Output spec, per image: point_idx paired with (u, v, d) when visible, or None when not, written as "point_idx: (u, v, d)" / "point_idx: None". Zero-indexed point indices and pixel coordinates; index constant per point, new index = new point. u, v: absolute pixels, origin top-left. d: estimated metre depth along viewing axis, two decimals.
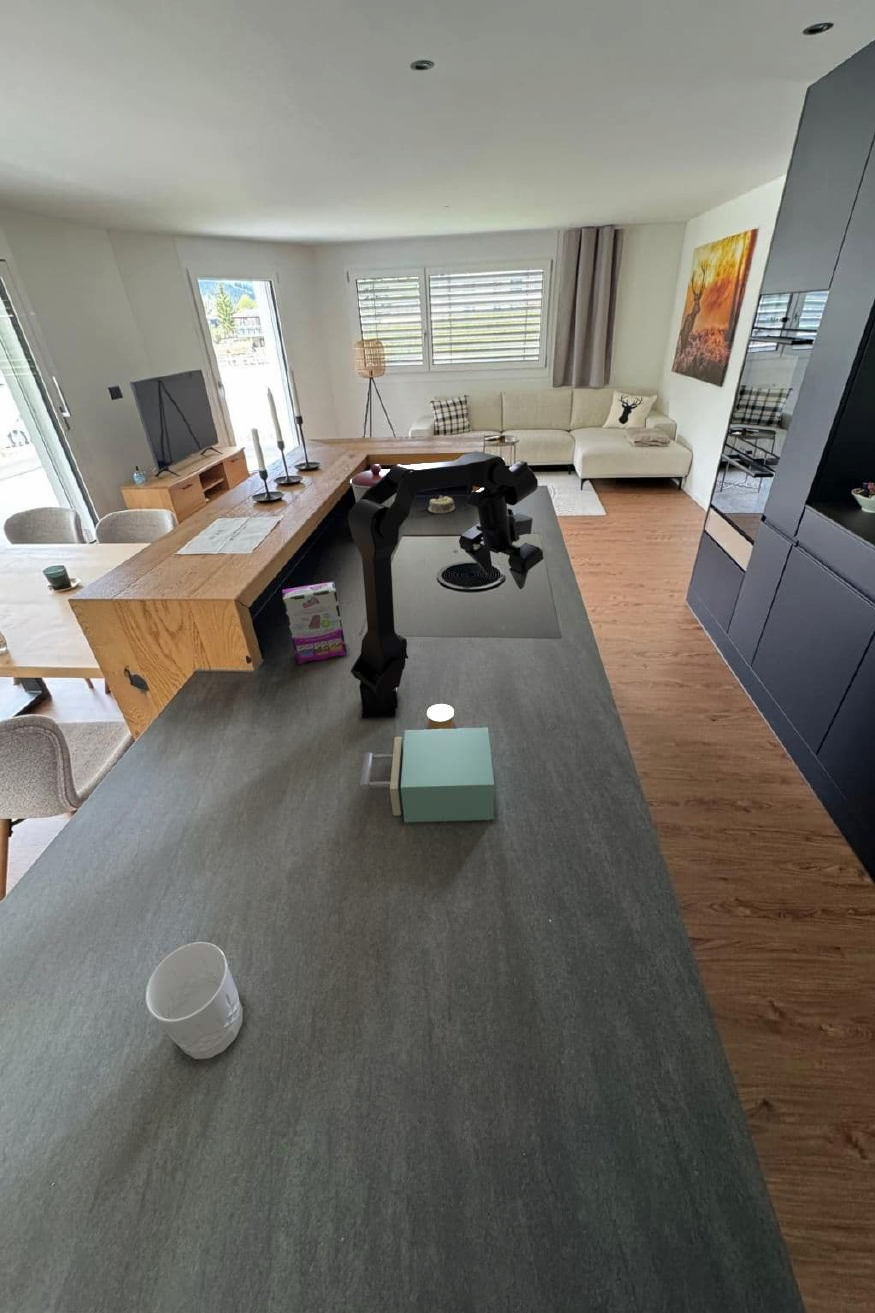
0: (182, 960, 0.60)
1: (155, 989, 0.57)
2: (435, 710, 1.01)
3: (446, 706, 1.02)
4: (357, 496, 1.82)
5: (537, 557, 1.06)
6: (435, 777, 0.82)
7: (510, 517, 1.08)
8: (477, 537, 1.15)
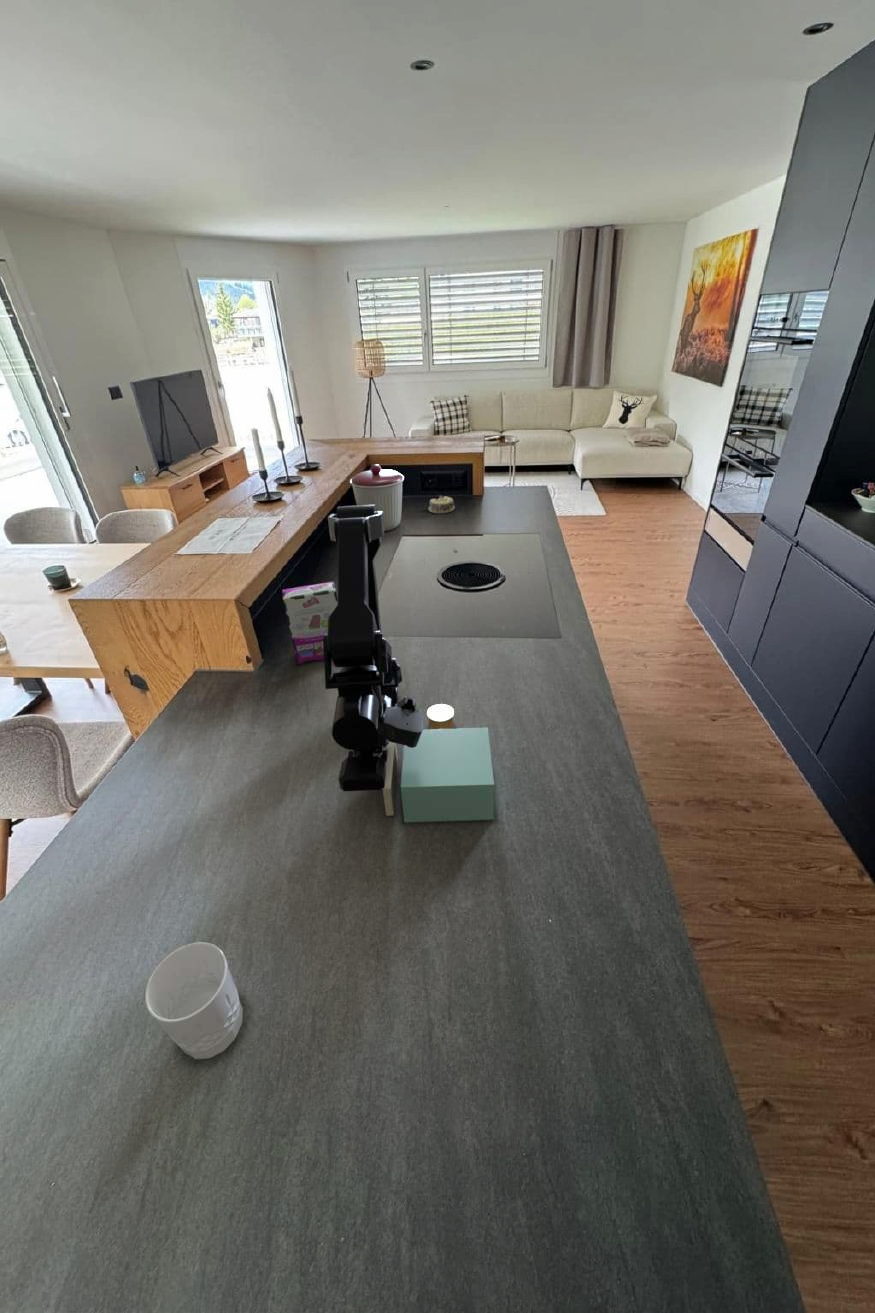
0: (182, 960, 0.60)
1: (155, 989, 0.57)
2: (435, 710, 1.01)
3: (446, 706, 1.02)
4: (357, 496, 1.82)
5: (367, 783, 0.76)
6: (435, 777, 0.82)
7: (378, 715, 0.79)
8: None
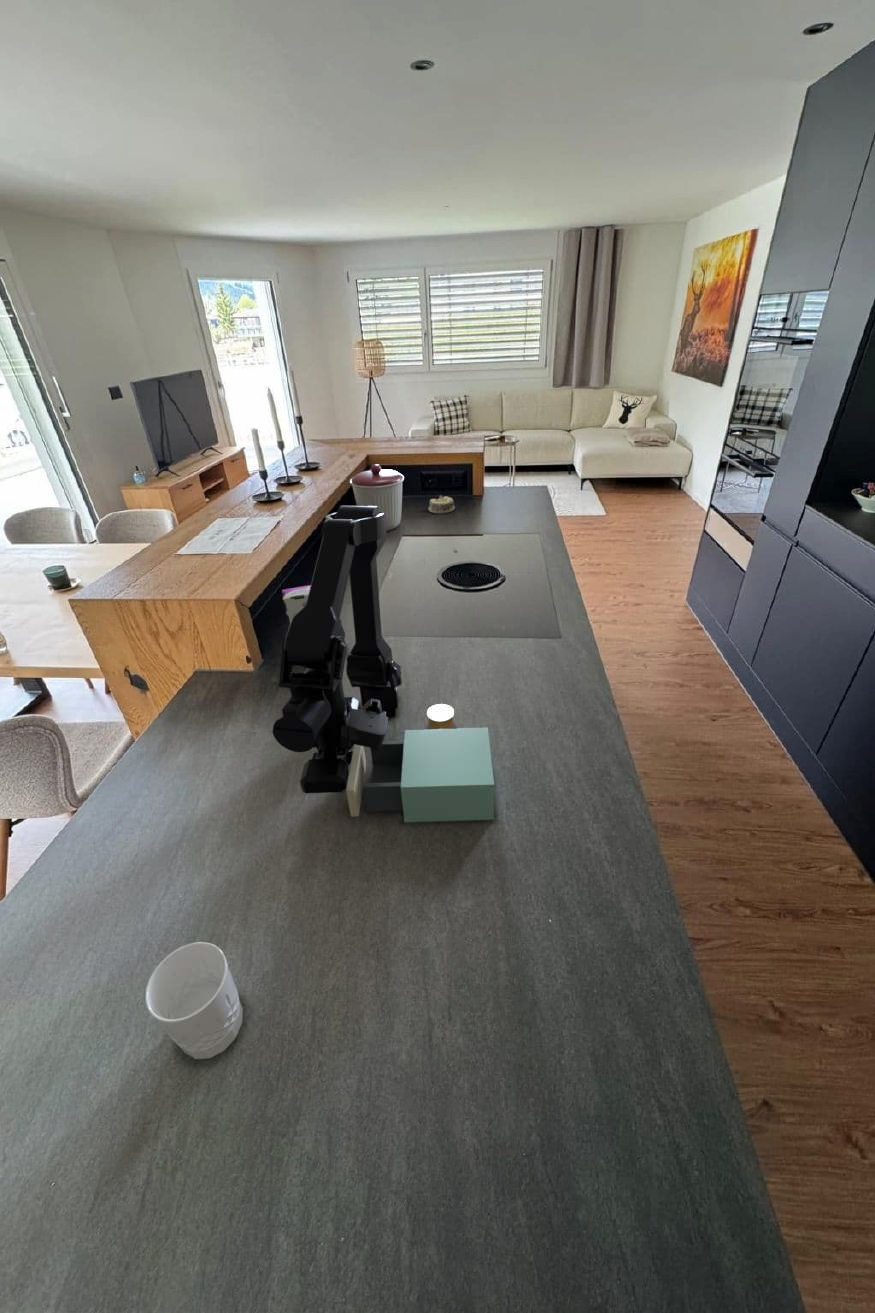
0: (182, 960, 0.60)
1: (155, 989, 0.57)
2: (435, 710, 1.01)
3: (446, 706, 1.02)
4: (357, 496, 1.82)
5: (327, 785, 0.76)
6: (435, 777, 0.82)
7: (341, 717, 0.79)
8: None
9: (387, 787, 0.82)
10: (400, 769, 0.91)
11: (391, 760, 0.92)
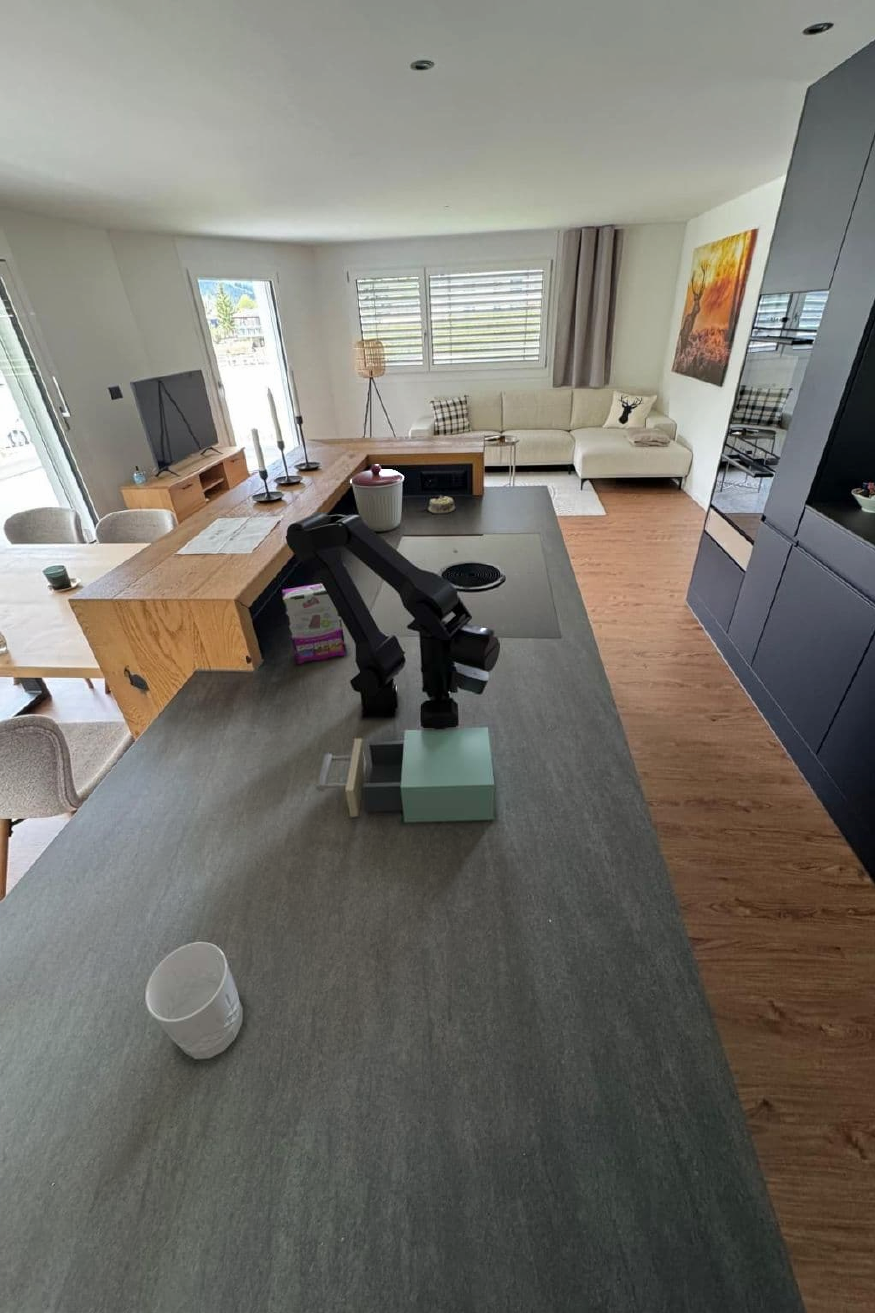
0: (182, 960, 0.60)
1: (155, 989, 0.57)
2: None
3: None
4: (357, 496, 1.82)
5: (444, 721, 0.89)
6: (435, 777, 0.82)
7: (452, 665, 0.92)
8: None
9: (386, 787, 0.82)
10: (399, 769, 0.91)
11: (390, 760, 0.92)
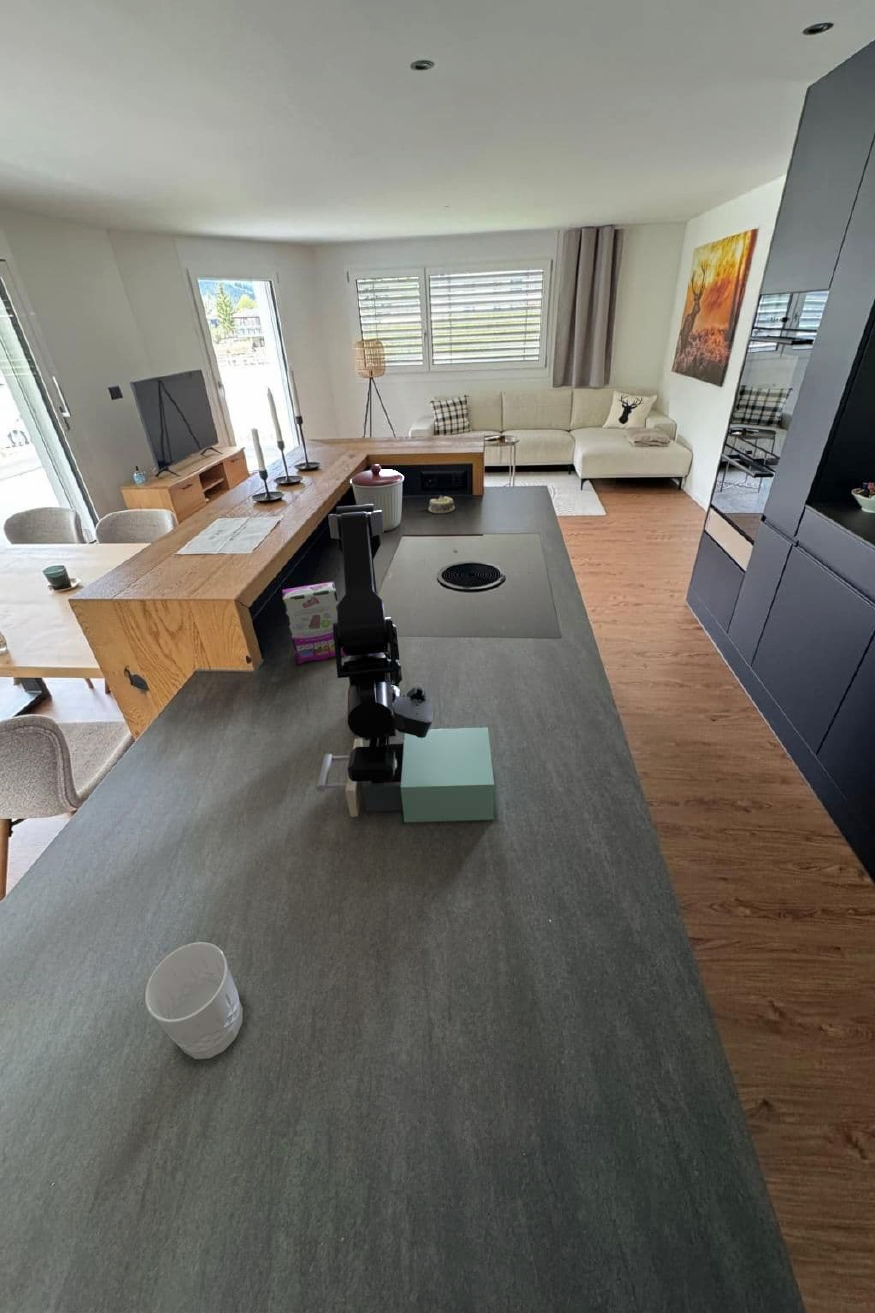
0: (182, 960, 0.60)
1: (155, 989, 0.57)
2: None
3: None
4: (357, 496, 1.82)
5: (376, 773, 0.75)
6: (435, 777, 0.82)
7: None
8: None
9: (386, 787, 0.82)
10: (399, 769, 0.91)
11: None
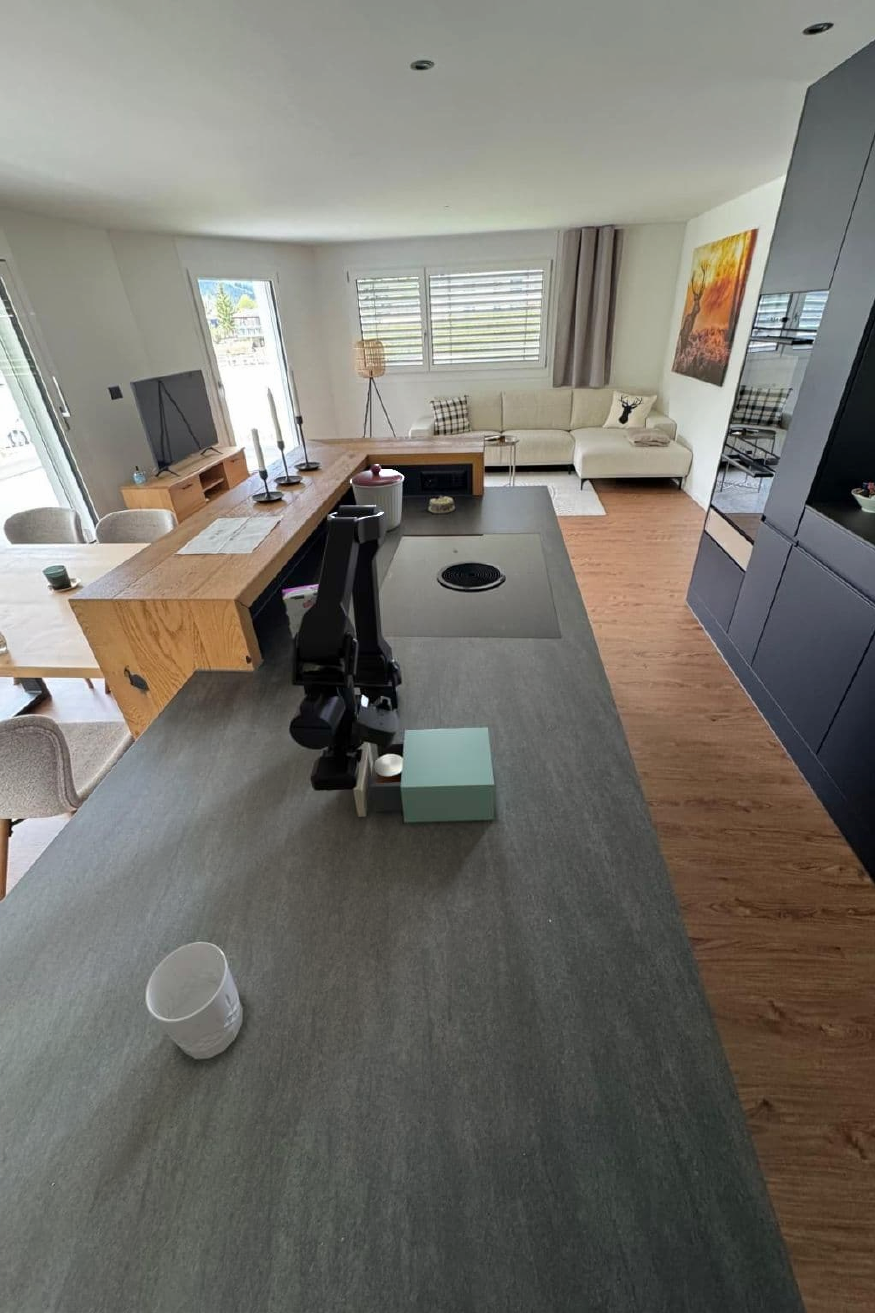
0: (182, 960, 0.60)
1: (155, 989, 0.57)
2: (384, 762, 0.87)
3: (397, 757, 0.88)
4: (357, 496, 1.82)
5: (338, 783, 0.76)
6: (435, 777, 0.82)
7: (351, 715, 0.79)
8: None
9: (394, 786, 0.82)
10: None
11: None
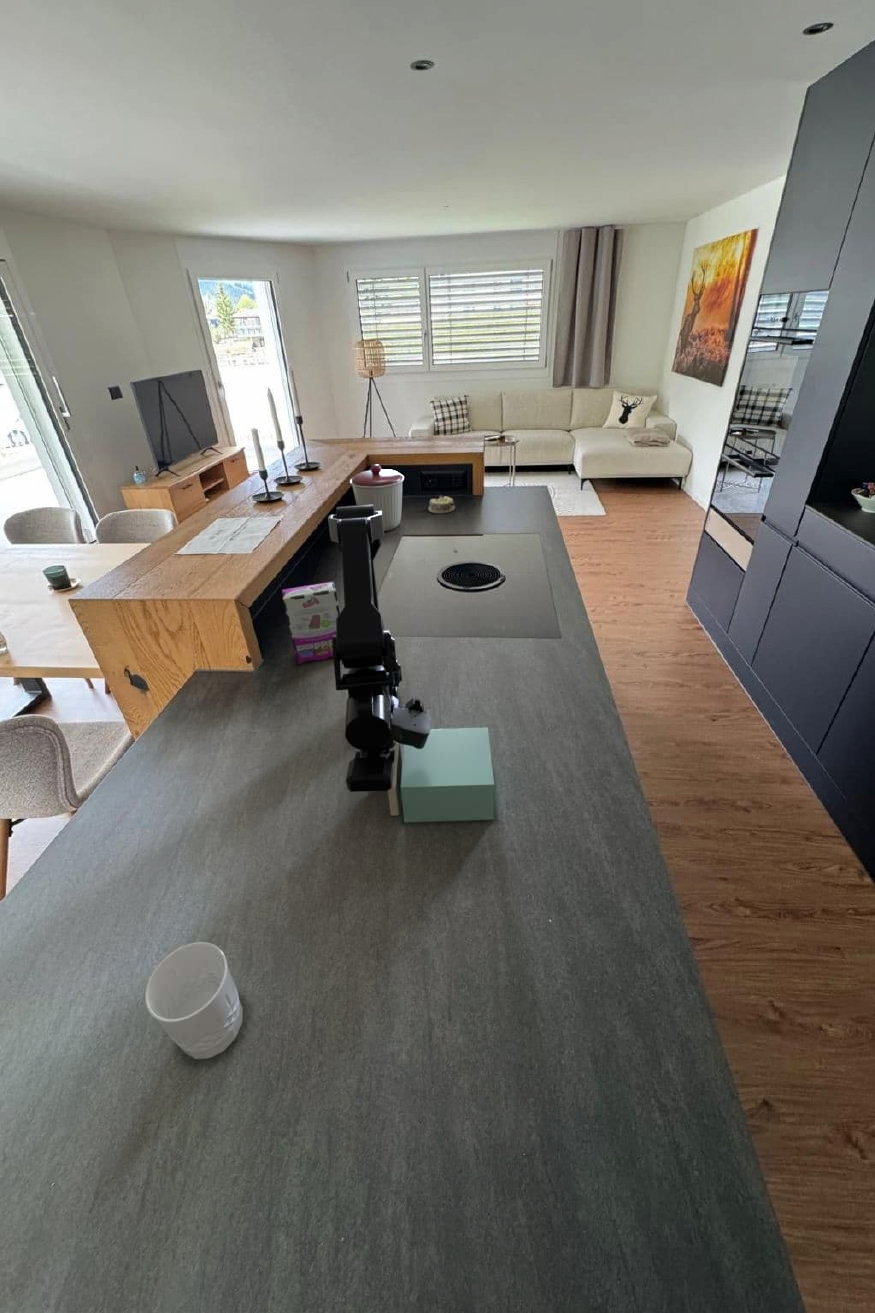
0: (182, 960, 0.60)
1: (155, 989, 0.57)
2: None
3: None
4: (357, 496, 1.82)
5: (374, 784, 0.76)
6: (435, 777, 0.82)
7: None
8: None
9: None
10: None
11: None
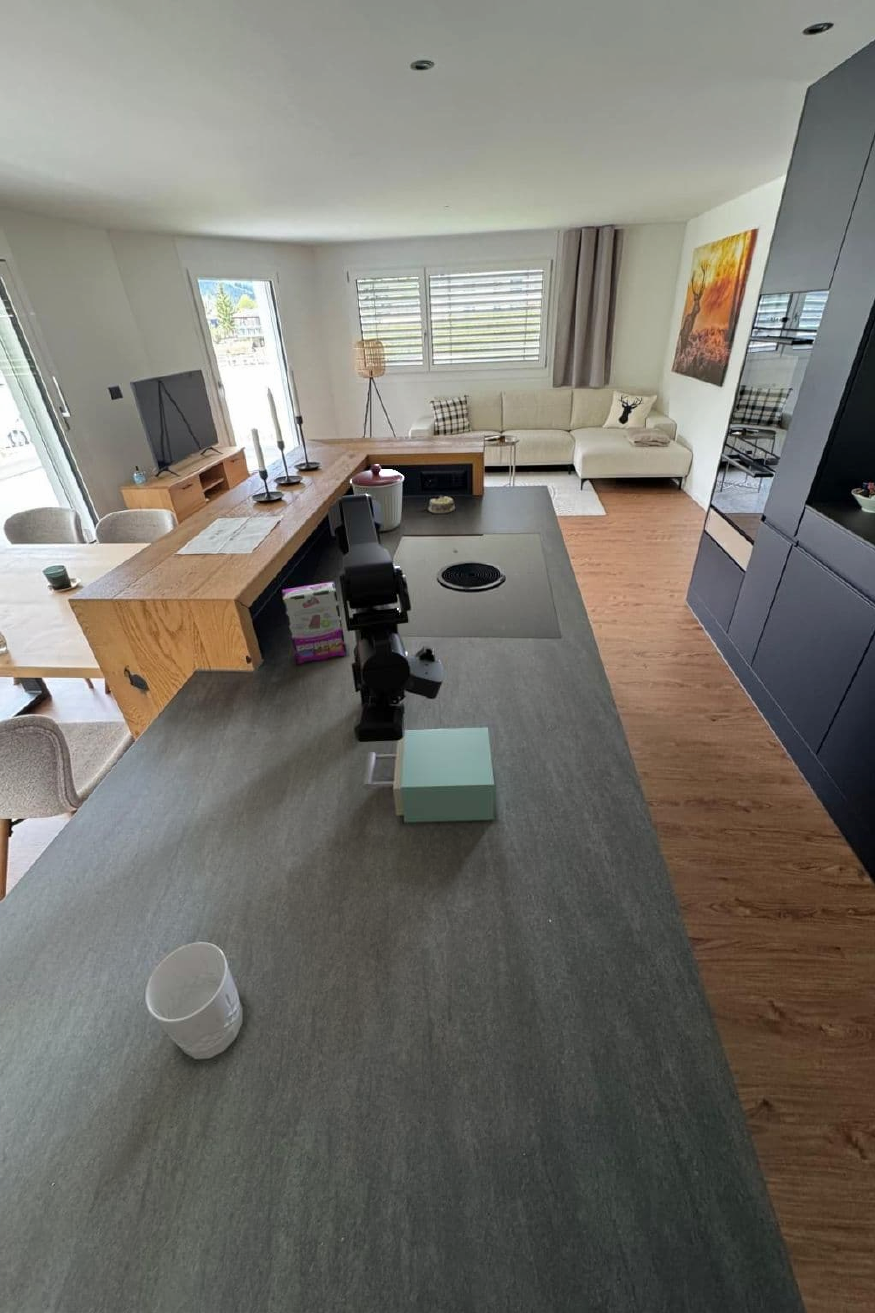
0: (182, 960, 0.60)
1: (155, 989, 0.57)
2: None
3: None
4: None
5: (384, 733, 0.71)
6: (435, 777, 0.82)
7: None
8: None
9: None
10: None
11: None
